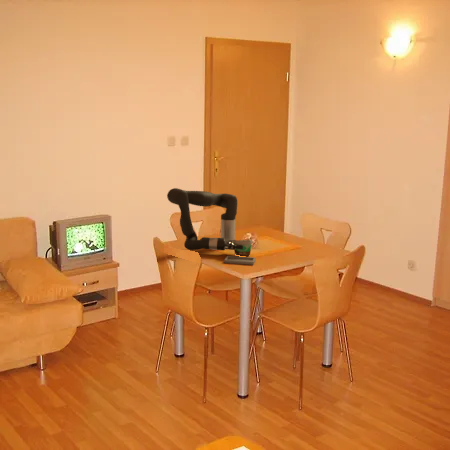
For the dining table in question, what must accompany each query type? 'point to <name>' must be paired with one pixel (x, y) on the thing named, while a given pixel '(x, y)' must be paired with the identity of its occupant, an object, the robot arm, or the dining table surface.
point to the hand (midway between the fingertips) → (243, 245)
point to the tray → (240, 260)
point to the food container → (246, 247)
